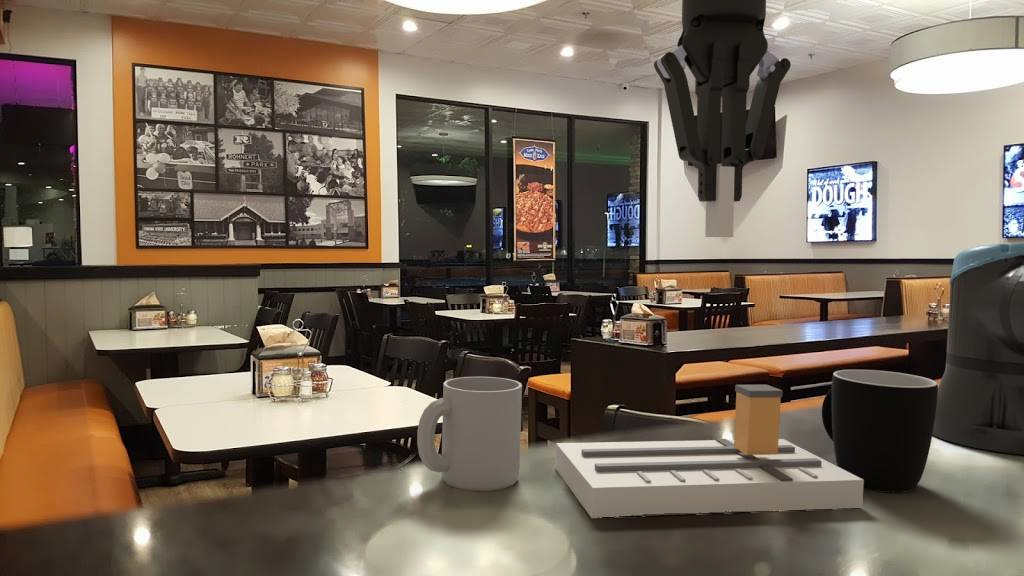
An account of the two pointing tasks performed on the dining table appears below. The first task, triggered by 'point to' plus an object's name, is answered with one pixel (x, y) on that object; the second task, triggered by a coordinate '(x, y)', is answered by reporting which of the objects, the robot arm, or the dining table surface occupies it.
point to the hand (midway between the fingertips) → (718, 236)
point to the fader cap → (757, 419)
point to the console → (700, 478)
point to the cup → (474, 433)
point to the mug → (881, 426)
